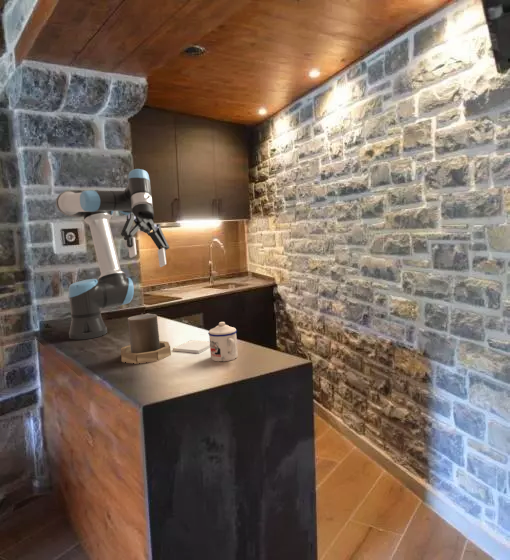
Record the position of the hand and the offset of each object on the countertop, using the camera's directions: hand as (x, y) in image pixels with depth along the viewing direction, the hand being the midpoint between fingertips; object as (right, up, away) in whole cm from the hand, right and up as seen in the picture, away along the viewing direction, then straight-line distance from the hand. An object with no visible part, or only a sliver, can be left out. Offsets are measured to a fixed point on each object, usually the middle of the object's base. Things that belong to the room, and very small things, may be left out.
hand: (148, 261), depth 149 cm
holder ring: (-1, -32, -1) cm, 32 cm away
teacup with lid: (+27, -32, -10) cm, 43 cm away
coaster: (+15, -30, +5) cm, 34 cm away
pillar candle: (-1, -32, -1) cm, 33 cm away
